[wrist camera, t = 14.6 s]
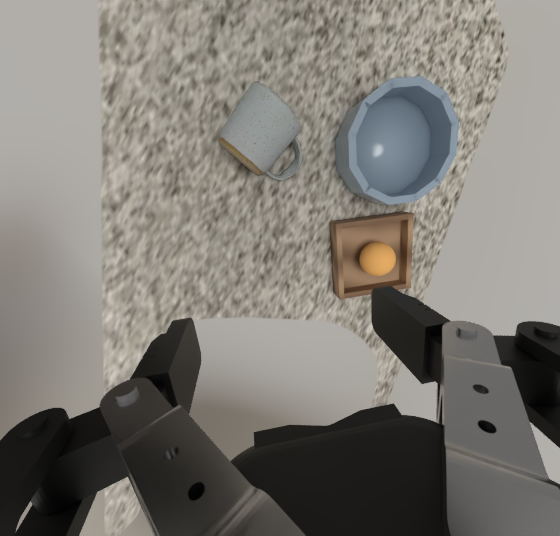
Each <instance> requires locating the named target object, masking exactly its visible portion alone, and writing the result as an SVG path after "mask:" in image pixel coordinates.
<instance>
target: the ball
mask: <svg viewBox="0 0 560 536" xmlns="http://www.w3.org/2000/svg"><path fill="white" fill-rule="evenodd" d="M359 260H360V265H361V267H362V269H363V270H364V271H365V272H366V273H368V274H370V275H373V276H382V275H385V274H387V273H389V272H390V271H391V270H392V269H393V267H394V265H395V262H396V255H395V252H394V250H393V249H392V248H391V247H390V246H389V245H387V244H386V243H383V242H373V243H370V244H368V245H367V246H365V247H364V248H363V250H362V251H361V254H360V258H359Z"/></svg>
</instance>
